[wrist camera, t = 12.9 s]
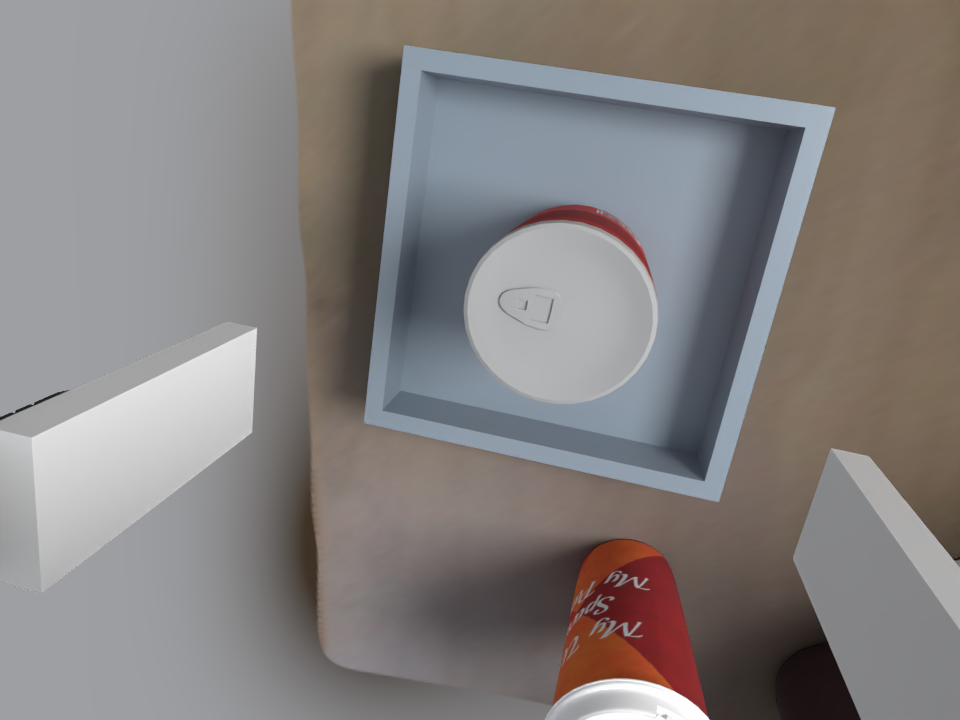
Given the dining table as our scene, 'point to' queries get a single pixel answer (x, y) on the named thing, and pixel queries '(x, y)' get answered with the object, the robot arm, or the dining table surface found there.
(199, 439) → the robot arm
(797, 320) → the dining table surface
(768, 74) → the dining table surface
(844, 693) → the wine bottle
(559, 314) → the canned food
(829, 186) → the dining table surface
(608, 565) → the coffee cup
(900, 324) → the dining table surface
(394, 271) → the bin
